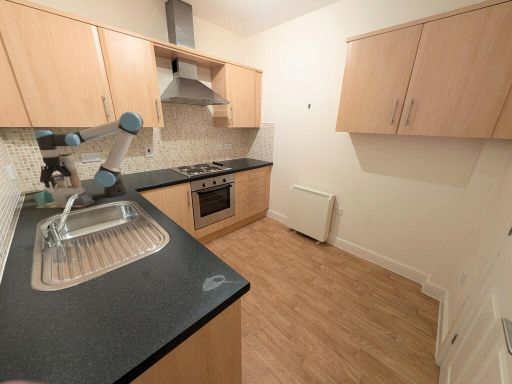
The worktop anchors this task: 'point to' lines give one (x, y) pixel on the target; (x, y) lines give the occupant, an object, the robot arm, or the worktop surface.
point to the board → (52, 205)
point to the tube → (62, 192)
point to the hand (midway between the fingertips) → (60, 189)
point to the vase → (71, 170)
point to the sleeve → (81, 199)
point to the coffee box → (57, 181)
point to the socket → (43, 198)
